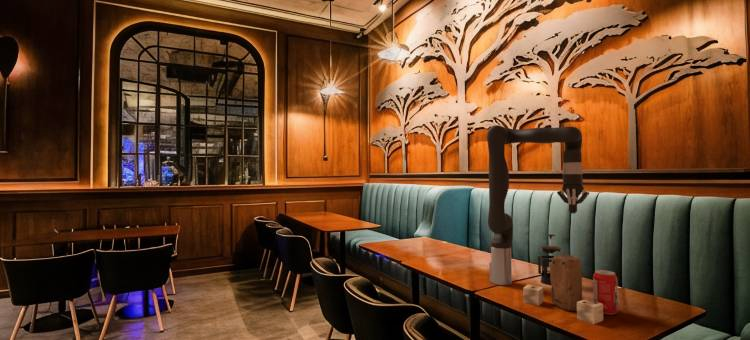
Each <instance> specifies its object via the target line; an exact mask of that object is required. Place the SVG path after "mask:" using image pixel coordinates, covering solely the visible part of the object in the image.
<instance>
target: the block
mask: <svg viewBox="0 0 750 340" xmlns="http://www.w3.org/2000/svg"><path fill="white" fill-rule="evenodd" d="M554 256H555V257H554V258H553V259H552V258H551V260H552V261H551V262H550V265H549V267H550V272H549V273H550V279H551V285H550V286H551V289H550V290H551V291H550V294H551V302H552V304H554V305H555V306H556V307H558V308H560V309H561V310H565V311H568V312H570V311H572V312H575V311H576V312H577V302H578V301H581V300H583V274H582V263H581V259H580V258H579V257H576V256H573V255H571V254H565V253H564V254H558V255H554Z"/></svg>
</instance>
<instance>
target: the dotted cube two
mask: <svg viewBox="0 0 750 340" xmlns="http://www.w3.org/2000/svg"><path fill="white" fill-rule="evenodd" d="M576 319H577V320H580V321H582V322H583V321H584V322H586V323H589V324H592V325H595V324H598V323H600V322H602V321H604V314H603V304H602V303H598V302H595V301H593V300H590V299H587V298H584V299H582V300H581V301H578V302H577V310H576Z"/></svg>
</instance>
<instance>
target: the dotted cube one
mask: <svg viewBox="0 0 750 340" xmlns="http://www.w3.org/2000/svg"><path fill="white" fill-rule="evenodd" d="M522 291H523V292H522V295H523V296H522V299H523V300H522V303H524V304H528V305H532V306H533V305H534V306H538V307H539V306H541V304H542V303H543V302H544V287H543V286H537V285H533V284H526V285H525V286H524V287H523V288H522Z"/></svg>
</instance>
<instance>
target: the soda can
mask: <svg viewBox="0 0 750 340" xmlns="http://www.w3.org/2000/svg"><path fill="white" fill-rule="evenodd" d="M618 282H619V281H618V277H617V275H616V272H614V271H612V270H605V269H597V270H594V273H593V275H592V296H593V297H592V299H593V300H592V301H595V302H598V303H602V304H603V315H608V316H609V315H610V316H611V315H615V314H618V312H619V293H618V291H619V289H618V288H619V287H618V285H619V284H618Z"/></svg>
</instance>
